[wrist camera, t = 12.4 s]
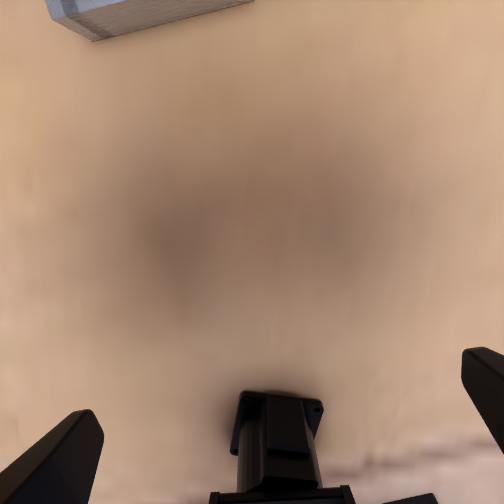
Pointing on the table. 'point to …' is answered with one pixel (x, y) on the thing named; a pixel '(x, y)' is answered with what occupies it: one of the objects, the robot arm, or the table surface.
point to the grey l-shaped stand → (126, 14)
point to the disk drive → (417, 500)
